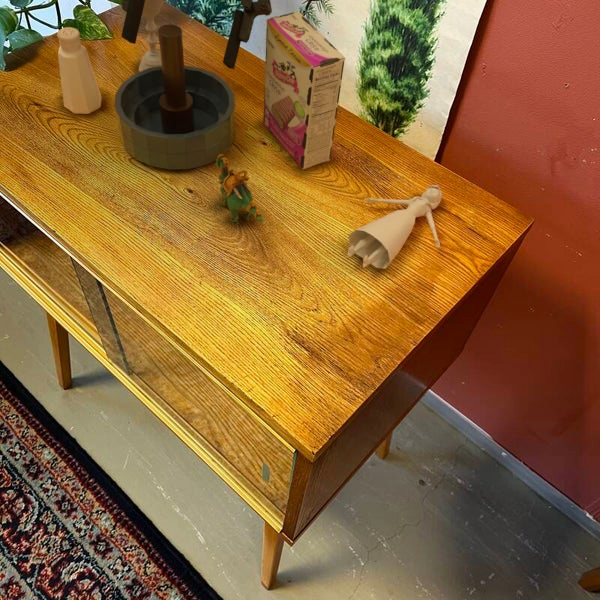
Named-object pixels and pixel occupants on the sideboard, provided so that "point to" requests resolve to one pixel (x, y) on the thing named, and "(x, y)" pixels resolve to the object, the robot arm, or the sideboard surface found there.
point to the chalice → (151, 35)
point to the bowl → (148, 128)
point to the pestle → (174, 84)
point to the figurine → (236, 190)
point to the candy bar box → (301, 88)
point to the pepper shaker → (77, 74)
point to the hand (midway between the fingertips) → (177, 53)
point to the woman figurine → (393, 228)
